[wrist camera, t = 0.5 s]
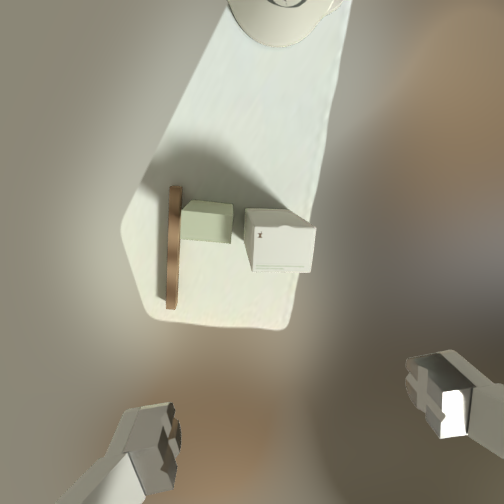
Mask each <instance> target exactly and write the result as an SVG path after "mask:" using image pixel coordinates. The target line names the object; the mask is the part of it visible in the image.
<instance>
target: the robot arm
mask: <svg viewBox="0 0 504 504" xmlns="http://www.w3.org/2000/svg"><path fill="white" fill-rule="evenodd" d="M227 1H228V3H229V5H230V7H231V10H232V12H233V14H234V16H235V18H236V20H237V22H238V23H239V25H240V26H241V28H242V29H243V30H244V31H245V32H246V33H247V34H248V35H249V36H250V37H251V38H252V39H254V40H255V41H257V42H259V43H261V44H263V45H266V46H270V47H287V46H291V45H293V44H296V43H298V42H300V41H301V40H303V39H304V38H306V37H307V36H308V35H309V34H310V33H311V32H312V31H313V30H314V28H315V27H316V26H317V24H318V23H319V22H320V21H321V19H322V18H323V17H325V16H327V15H328V14H330V13H332V12H334V11H335V10H337V9H338V8H339V7H340V5H341V4H342V1H343V0H227ZM406 368H407V370H408V371H409V372H410V373H409V375H408V376H407V377H406V388H407V392H408V395H409V397H410V399H411V400H412V402H413V403H414V405H415V406H416V407H417V408H418V409H420V410H422V411H423V412H425V413H426V421H427V422H428V423H429V425H430V426H431V427H432V429H433V430H434V431H435V433H436V434H437V435H438V436H439V438H440V439H441V438H448V437H454V436H460V435H467V434H468V436H469V437H470V438H472V439H473V440H475V441H476V442H478V443H480V444H481V445H483V446H484V447H485V448H487V449H489V450H490V451H492V452H493V453H495V454H496V455H498V456H499V457H501V458H502V459H504V385H502V384H500V383H499V384H494V383H493V382H491V381H490V380H489V379H488V378H487V377H485V376H484V375H483V374H482V373H481V372H479V371H478V370H477V369H476V368H475V367H473V366H472V365H471V364H470V363H469V362H468V361H466V360H465V359H464V358H463V357H462V356H460V355H459V354H458V353H457V352H456V351H453V350H447V351H442V352H437V353H432V354H427V355H422V356H417V357H411V358H408V359H407V361H406ZM174 414H175V408H174V405H173V403H171V402H168V403H161V404H155V405H149V406H142V407H139V408H132V409H127V410H126V411H125V412H124V413H123V415H122V417H121V420H120V422H119V424H118V427H117V429H116V431H115V434H114V436H113V438H112V441H111V443H110V445H109V448H108V450H107V452H106V455H105V457H102V458H99V459H98V460H97V461H96V462H95V463H94V464H93V465H92V466H91V467H90V468H89V469H88V470H87V471H86V472H85V473H84V474H83V475H82V476H81V477H80V478H79V479H78V480H77V481H76V482H75V483H74V484H73V485H72V486H71V487H70V488H69V489H68V490H67V491H66V492H65V493H64V494H63V495H62V496H61V497H60V498H59V499H58V500H57V501H56V502H55V503H54V504H142V502H143V501H144V499H145V496H146V495H150V494H155V493H159V492H163V491H168V490H173V488H174V482H175V477H176V472H177V464H176V461H175V458H176V457H177V455H178V454H179V453H180V448H181V427H180V423H179V420H177V419H176V418H174Z"/></svg>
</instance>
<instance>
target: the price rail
mask: <svg viewBox="0 0 504 504" xmlns="http://www.w3.org/2000/svg"><path fill="white" fill-rule="evenodd" d="M181 206H182V187H181V186H171V187H170V190H169V218H168V253H167V288H166V309H173V310H175V309H176V306H177V302H178V278H179V254H180V230H181Z"/></svg>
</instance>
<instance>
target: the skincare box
mask: <svg viewBox="0 0 504 504" xmlns="http://www.w3.org/2000/svg"><path fill="white" fill-rule="evenodd" d="M315 234H316V227H315V226H313V225H312V224H310V223H309V222H307V221H305V220H304V219H302V218H301V217H299V216H298V215H296V214H295V213H293V212H292V211H290V210H287V209H264V208H246V209H245V220H244V244H245V248H246V251H247V255H248V258H249V262H250V266H251V269H252V272H288V273H306V272H307V273H310V271H311V265H312V258H313V250H314V242H315Z"/></svg>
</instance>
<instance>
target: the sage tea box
mask: <svg viewBox="0 0 504 504" xmlns="http://www.w3.org/2000/svg"><path fill="white" fill-rule="evenodd" d="M232 224H233V204H228V203H219V202H209V201H200V200H191V201H190V202H189V203H188V204H187V205H186V206H185V207H184V208H183V209H182V210H181V231H180V239H186V240H196V241H207V242H218V243H229V244H231V234H232Z"/></svg>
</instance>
